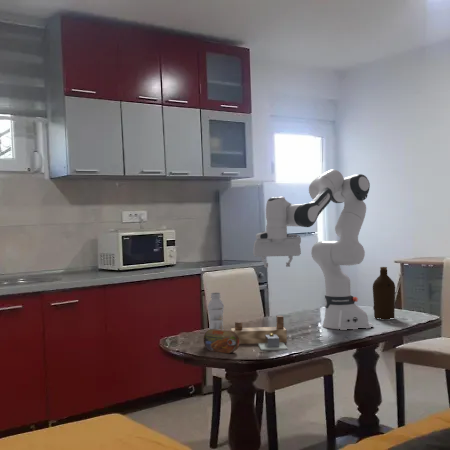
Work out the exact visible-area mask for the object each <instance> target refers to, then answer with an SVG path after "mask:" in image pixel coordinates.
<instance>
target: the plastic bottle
mask: <svg viewBox="0 0 450 450" xmlns="http://www.w3.org/2000/svg"><path fill="white" fill-rule="evenodd" d="M210 296H211V297H210V298H211V300H210V301H209V303H208V304H207V311H208V315H209V316H208V317H209V327H208V328H209V329H208V330H210V329H220V330H224V323H223V319H224V318H223V317H224V308H225V306H224V303H223V301H222V300H221V299H220V298H221V292H212V293H210Z"/></svg>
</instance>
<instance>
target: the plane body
mask: <svg viewBox="0 0 450 450" xmlns="http://www.w3.org/2000/svg"><path fill="white" fill-rule="evenodd" d="M275 318H276V326H263V327H261V326H259V327H243V322H242V321H234V327H233V328H232V327H231V328H230V330H231V331H234V332H235V333H236V334H237V335H238V337H239V345H245V344H247V345H248V344H249V345H251V344H258V343H265V335H269V334H270V333H273V334H274V335H277V336H278V337H279V342H283V343H287V341H288V340H287V337H288V334H287V330H288V329H286V328H285V327H284V326H285V323H284V322H285V321H284V318H285V317H284V315H276V317H275Z"/></svg>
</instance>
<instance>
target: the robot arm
mask: <svg viewBox="0 0 450 450" xmlns="http://www.w3.org/2000/svg"><path fill="white" fill-rule="evenodd" d="M370 185H371V184H370V180H369V178H368V177H367V176H366V175H364V174H362V173H360V174H359V173H357V174H353V175H350V176H346V177H344V176H343V173H341V171H339V170H338V169H329V170H327V171H324V172H322V173H321V174H320V175H318V176H317V177H316V178H315V179H313V180H312V182H311V183H310V184H309V186H308V193H309V196H310V198H311V199H312V200H311V201H310V202H308V203H307V202H306V203H295V204H294V203H291V202H289V201H288V200H286V198H285V197H284V196H283V195H282V196H281V195H279V196H272V197H269V198H268V199H267V200H266V206H265V220H266V225H265V231H261V232H258V233H256V234H255V240H254V243H253V250H252V255H253V256H254V257H256V258H257V257H258V258H259V257H260V258H261V259H260V260H262V262H263V266H264V268H269V263H268V262H266V257H288V261H287V262H285V264H286V265H285V267H286V268H288V267H289V268H290V267H291V262H292V260H293V257H299V256H300V255H301V254H302V252H301V251H302V250H301V245H300V244H301V243H302V238H301V236H300V235H298V234H296V233H295V234H294V233H293V234H292V233H291V234H290V233H289V234H288V227H300V228H301V227H302V228H311V227H312V226H313V225H315V223H316V221H317V219H318V217H320V214H322V212H323V211H324V209H325V208H326V207H327V206H328V205H329V204H330V202H333V203H334V204H341V203H343V208H342V211H341V213H340V215H339V217H338V220H337V222H336V224H335V227H334V231H335V233H336V235H337V236H338V237H339V240H322V241H321V240H320V241H318V242H314V244H313V246H312V248H311V251H310V252H311V257H312V259H313V261H314V263H316V264H317V265H318V266H319V267H320V269H321V272H322V274H323V277H324V284H325V285H324V286H325V295H324V307H325V311H324V318H323V323H322V327H323V328H326V329H333V330H339V329H340V330H341V331H348V330H347V329H353V330H359V329H358V328H366V329H372V328H371V327H373V328H374V324H373V323H372V322H370V321H369V317H368V314H367V312H366V311H365V310H364V309H362V308H361V307H359V306H358V305H357V304H356V302H358V301H359V298H358V297H357V296H352V295H351V279H350V276H349V275H348V274H346V273H344V272H343V270H342V268H341V266H348V267H351V266H355V265H360V264H361V263H362V262H363V261H364V258H365V253H366V252H365V248H364V246H363V245H362V244H361V242H360V241H359V234H360V231H361V229H362V226H363V223H364V221H365V217H366V213H367V204H366V203H365V200H366V199H367V198H368V194H369V192H370V187H371V186H370ZM340 330H339V331H340Z"/></svg>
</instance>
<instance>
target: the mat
mask: <svg viewBox="0 0 450 450" xmlns="http://www.w3.org/2000/svg"><path fill="white" fill-rule="evenodd" d="M257 346H258V347H259V349H260V351H283V350H285V351H286V350H288V347H287V345H285V342H279V347H274V348H268V347H267V345H266V344H265V343H257Z"/></svg>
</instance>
